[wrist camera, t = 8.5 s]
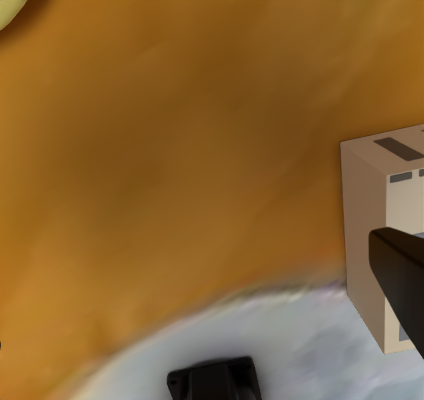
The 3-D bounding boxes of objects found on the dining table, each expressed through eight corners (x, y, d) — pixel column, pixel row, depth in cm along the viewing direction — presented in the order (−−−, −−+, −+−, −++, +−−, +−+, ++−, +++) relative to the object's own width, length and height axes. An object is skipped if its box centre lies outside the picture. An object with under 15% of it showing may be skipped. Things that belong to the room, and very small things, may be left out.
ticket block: (419, 279, 24) (474, 337, 20) (347, 294, 25) (385, 355, 20) (430, 121, 20) (505, 150, 15) (340, 141, 20) (387, 175, 15)
